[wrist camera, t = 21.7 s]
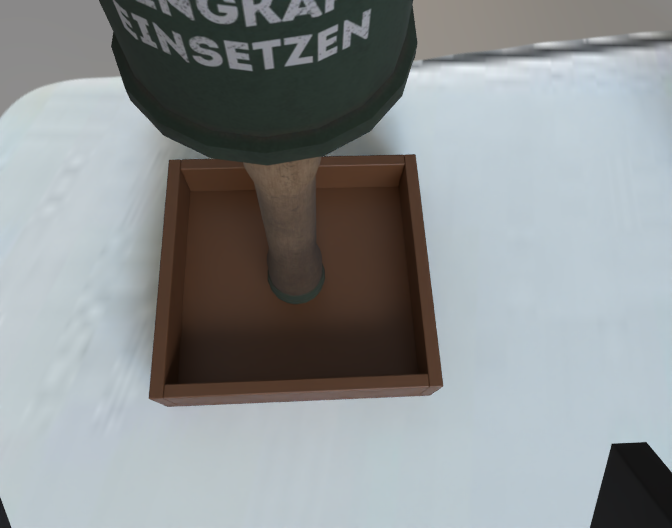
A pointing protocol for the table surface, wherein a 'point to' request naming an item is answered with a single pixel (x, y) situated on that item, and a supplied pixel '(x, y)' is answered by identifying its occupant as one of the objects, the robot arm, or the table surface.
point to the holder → (284, 318)
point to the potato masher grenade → (267, 96)
